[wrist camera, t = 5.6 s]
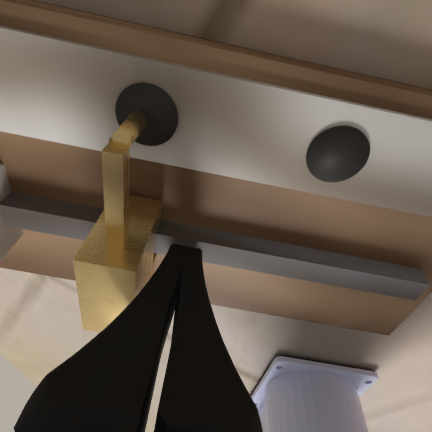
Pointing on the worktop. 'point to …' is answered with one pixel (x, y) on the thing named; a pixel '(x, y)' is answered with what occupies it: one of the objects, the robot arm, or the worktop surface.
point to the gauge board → (219, 164)
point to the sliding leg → (117, 237)
